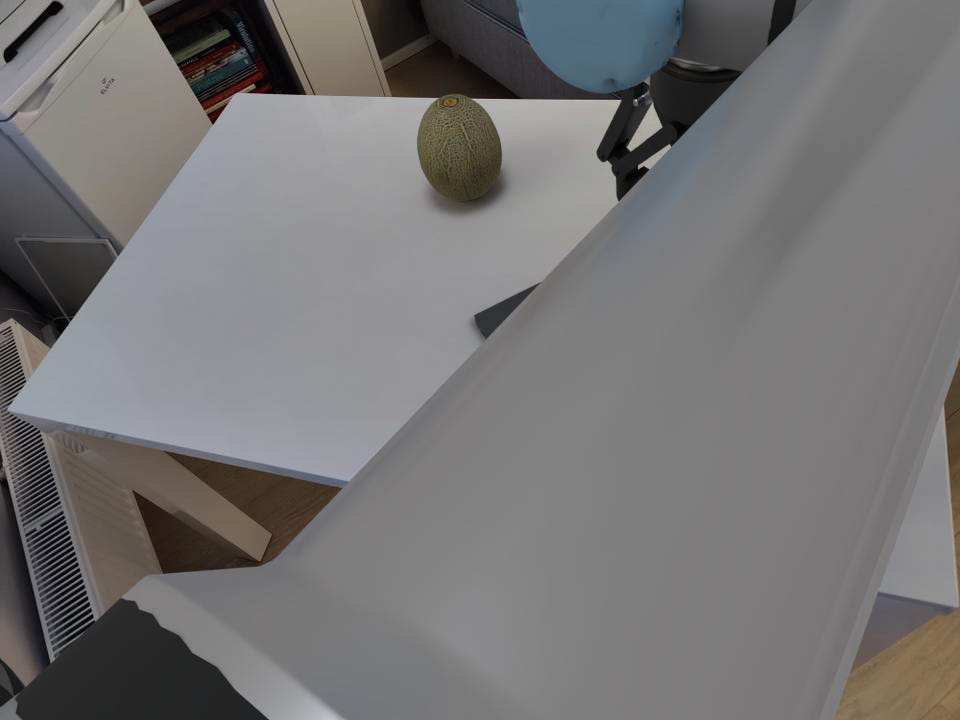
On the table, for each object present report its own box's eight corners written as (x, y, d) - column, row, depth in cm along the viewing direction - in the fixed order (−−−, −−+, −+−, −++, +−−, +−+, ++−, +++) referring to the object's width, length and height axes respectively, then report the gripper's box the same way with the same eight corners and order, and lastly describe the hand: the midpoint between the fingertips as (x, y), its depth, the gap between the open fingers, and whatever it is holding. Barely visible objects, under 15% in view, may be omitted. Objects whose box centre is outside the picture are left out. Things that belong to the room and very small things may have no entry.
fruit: (489, 225, 97) (469, 134, 85) (418, 212, 101) (389, 123, 89) (520, 170, 102) (505, 78, 90) (451, 160, 106) (428, 70, 94)
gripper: (947, 87, 37) (847, 331, 54) (619, -46, 51) (622, 182, 68) (850, 157, 35) (779, 387, 52) (538, 0, 49) (562, 222, 66)
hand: (690, 272), depth 60 cm, fingers open, 13 cm apart
